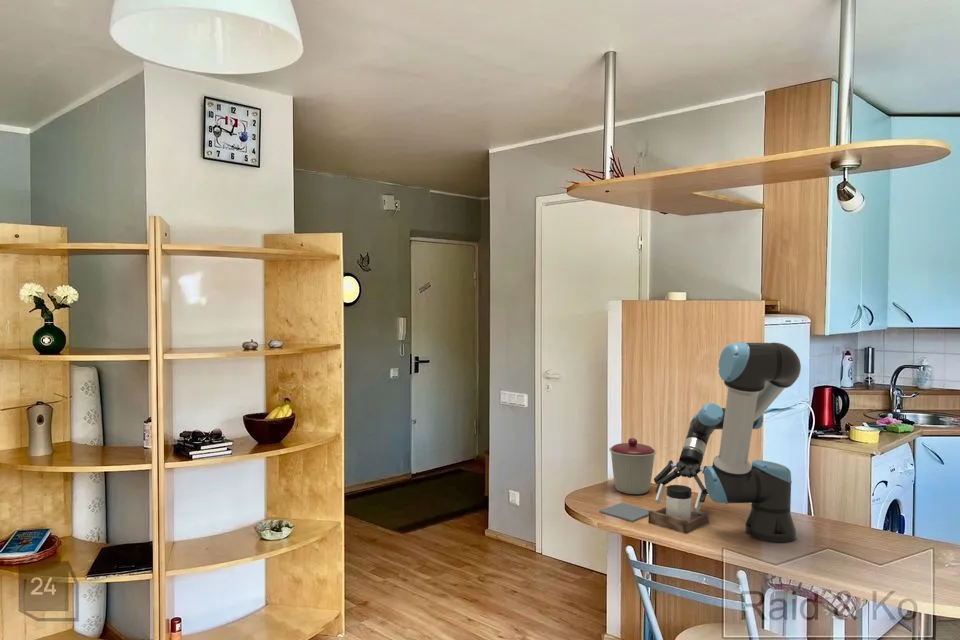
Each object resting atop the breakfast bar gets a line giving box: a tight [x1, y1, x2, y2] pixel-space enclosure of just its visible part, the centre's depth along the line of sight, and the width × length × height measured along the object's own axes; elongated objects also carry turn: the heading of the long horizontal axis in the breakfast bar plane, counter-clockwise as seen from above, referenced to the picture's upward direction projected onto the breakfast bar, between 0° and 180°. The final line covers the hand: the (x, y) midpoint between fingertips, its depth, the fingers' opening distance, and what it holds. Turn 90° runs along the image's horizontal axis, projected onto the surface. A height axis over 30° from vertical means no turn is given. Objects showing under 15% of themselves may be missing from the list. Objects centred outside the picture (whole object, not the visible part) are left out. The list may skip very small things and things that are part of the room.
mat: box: [598, 502, 656, 523], centre depth 236 cm, size 14×14×1 cm
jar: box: [665, 484, 693, 521], centre depth 225 cm, size 9×8×12 cm
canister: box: [608, 437, 657, 495], centre depth 262 cm, size 18×18×21 cm
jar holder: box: [647, 506, 710, 534], centre depth 226 cm, size 14×15×4 cm
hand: (676, 505), depth 225 cm, fingers open, 13 cm apart
